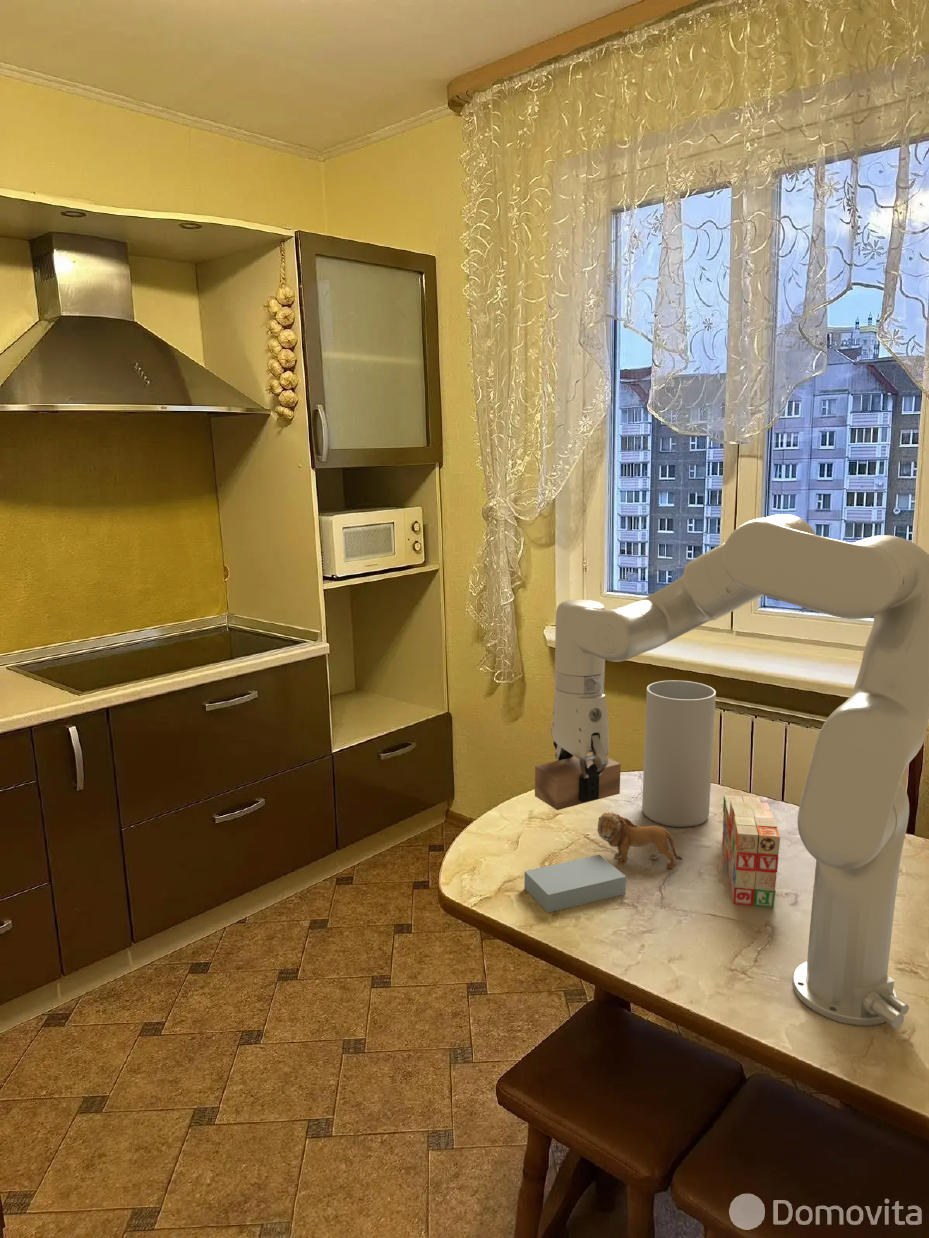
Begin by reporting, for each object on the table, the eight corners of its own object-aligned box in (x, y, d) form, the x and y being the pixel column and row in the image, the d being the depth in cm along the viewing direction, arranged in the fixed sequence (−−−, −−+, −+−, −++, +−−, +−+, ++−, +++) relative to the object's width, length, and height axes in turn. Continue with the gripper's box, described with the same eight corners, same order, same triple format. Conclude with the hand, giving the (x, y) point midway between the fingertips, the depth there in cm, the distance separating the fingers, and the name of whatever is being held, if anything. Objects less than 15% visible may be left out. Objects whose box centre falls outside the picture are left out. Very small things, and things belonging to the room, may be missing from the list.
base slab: (625, 893, 139) (626, 876, 138) (548, 912, 133) (548, 894, 133) (598, 870, 146) (599, 854, 145) (524, 888, 141) (524, 871, 140)
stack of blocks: (720, 842, 156) (724, 778, 153) (757, 845, 155) (761, 780, 152) (733, 905, 136) (737, 832, 133) (775, 909, 134) (780, 835, 132)
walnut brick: (619, 793, 137) (620, 763, 135) (557, 810, 131) (557, 779, 130) (596, 780, 142) (596, 751, 141) (534, 796, 136) (535, 766, 135)
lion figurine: (598, 869, 147) (599, 820, 145) (594, 854, 152) (595, 806, 150) (685, 869, 146) (688, 819, 144) (678, 854, 152) (680, 806, 150)
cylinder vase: (631, 817, 166) (635, 692, 160) (657, 795, 176) (662, 676, 170) (694, 834, 159) (701, 704, 153) (718, 810, 169) (725, 687, 163)
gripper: (632, 693, 126) (628, 808, 130) (572, 664, 141) (570, 768, 145) (587, 700, 123) (584, 817, 127) (531, 670, 139) (530, 775, 142)
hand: (576, 790), depth 136 cm, fingers closed on walnut brick, 6 cm apart
